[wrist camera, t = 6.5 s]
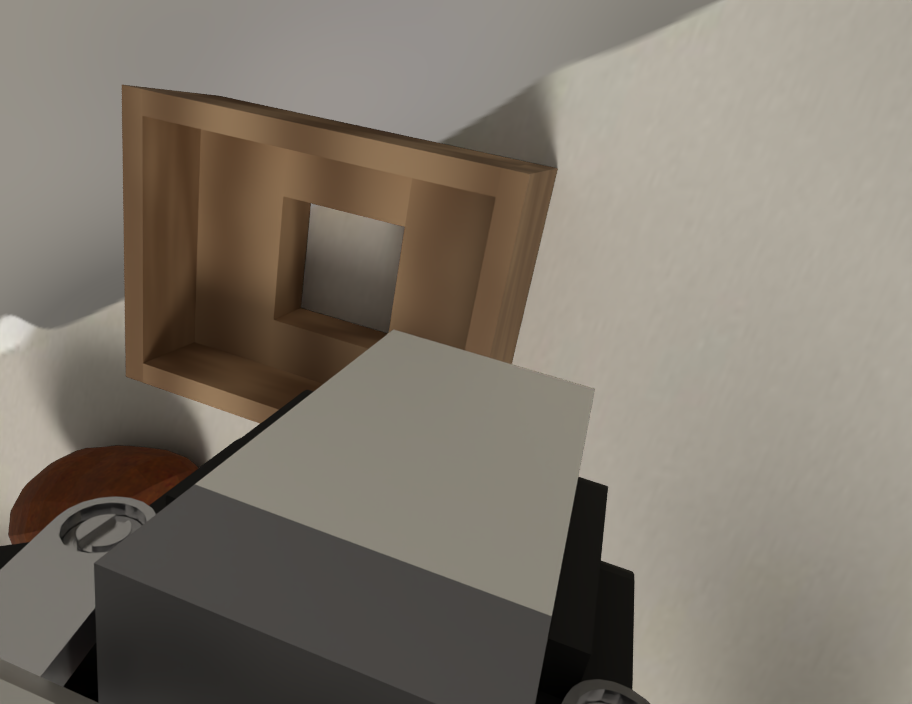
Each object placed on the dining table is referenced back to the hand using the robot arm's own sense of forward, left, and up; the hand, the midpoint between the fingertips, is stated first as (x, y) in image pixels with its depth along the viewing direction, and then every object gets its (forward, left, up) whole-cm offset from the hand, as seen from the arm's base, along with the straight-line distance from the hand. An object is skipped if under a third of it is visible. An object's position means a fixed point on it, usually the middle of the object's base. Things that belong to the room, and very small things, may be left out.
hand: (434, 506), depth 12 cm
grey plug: (0, 0, -2) cm, 2 cm away
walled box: (+10, +1, -18) cm, 21 cm away
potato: (+23, +19, -18) cm, 35 cm away
